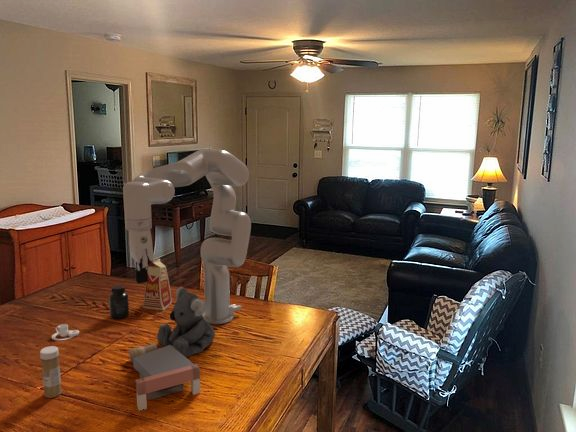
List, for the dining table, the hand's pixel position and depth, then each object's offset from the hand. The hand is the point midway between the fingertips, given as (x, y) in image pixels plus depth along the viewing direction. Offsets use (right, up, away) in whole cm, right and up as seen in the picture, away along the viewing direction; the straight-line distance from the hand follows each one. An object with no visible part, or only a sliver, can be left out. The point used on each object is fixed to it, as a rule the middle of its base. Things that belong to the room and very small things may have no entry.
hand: (142, 281), depth 148 cm
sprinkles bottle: (-21, -30, -13) cm, 38 cm away
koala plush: (+11, -24, +17) cm, 31 cm away
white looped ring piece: (-33, -23, +20) cm, 45 cm away
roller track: (+4, -28, -2) cm, 28 cm away
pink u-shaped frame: (+12, -30, -15) cm, 36 cm away
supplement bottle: (-20, -19, +39) cm, 48 cm away
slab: (+9, -25, -7) cm, 27 cm away
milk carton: (-9, -17, +51) cm, 54 cm away
